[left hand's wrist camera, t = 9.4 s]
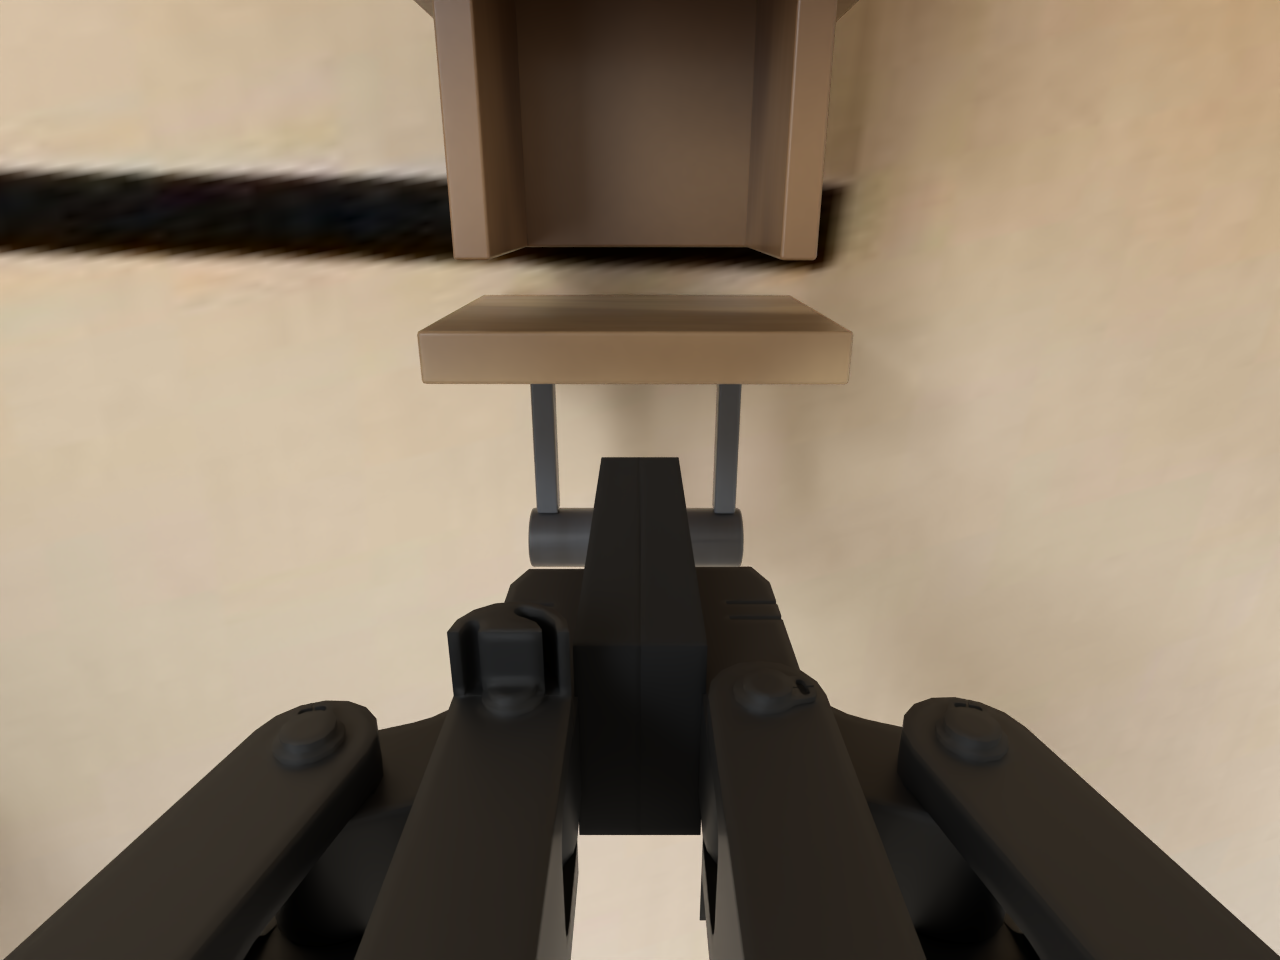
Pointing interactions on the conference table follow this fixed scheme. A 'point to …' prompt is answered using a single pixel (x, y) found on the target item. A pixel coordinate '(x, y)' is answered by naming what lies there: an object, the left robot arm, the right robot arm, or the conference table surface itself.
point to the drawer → (634, 209)
